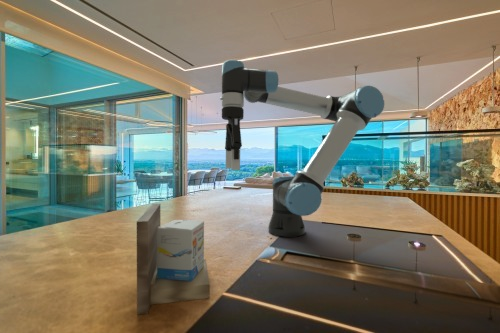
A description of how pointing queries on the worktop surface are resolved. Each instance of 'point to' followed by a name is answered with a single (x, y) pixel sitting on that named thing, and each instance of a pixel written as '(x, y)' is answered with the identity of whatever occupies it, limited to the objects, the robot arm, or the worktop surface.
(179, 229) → the ink box
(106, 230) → the worktop surface
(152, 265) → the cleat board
